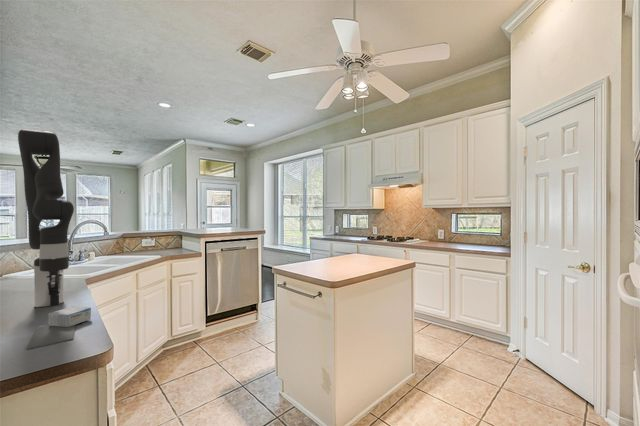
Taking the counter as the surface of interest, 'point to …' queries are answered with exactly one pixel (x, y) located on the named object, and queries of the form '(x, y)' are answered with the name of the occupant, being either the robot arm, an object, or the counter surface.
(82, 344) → the counter surface
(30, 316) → the counter surface
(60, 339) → the mat
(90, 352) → the counter surface
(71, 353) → the counter surface
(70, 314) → the medicine box
